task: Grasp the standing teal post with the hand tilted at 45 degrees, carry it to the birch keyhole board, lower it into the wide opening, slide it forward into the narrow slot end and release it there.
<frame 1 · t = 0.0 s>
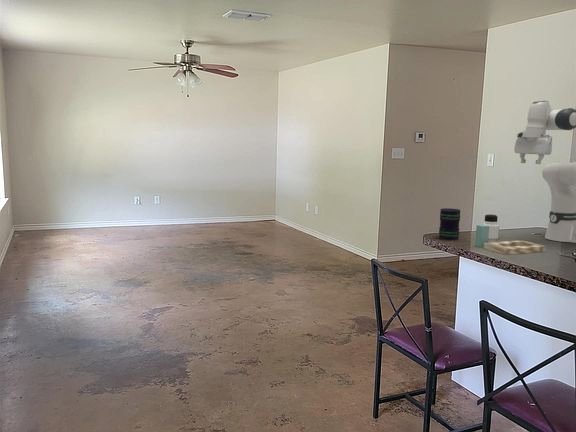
hand: (530, 163, 239), 39 cm above the worktop, tool pointing down, fingers open, 8 cm apart
medicine bottle: (489, 238, 256), on the worktop
storage jar: (448, 238, 253), on the worktop
post: (481, 246, 236), on the worktop
keyhole board: (513, 249, 228), on the worktop
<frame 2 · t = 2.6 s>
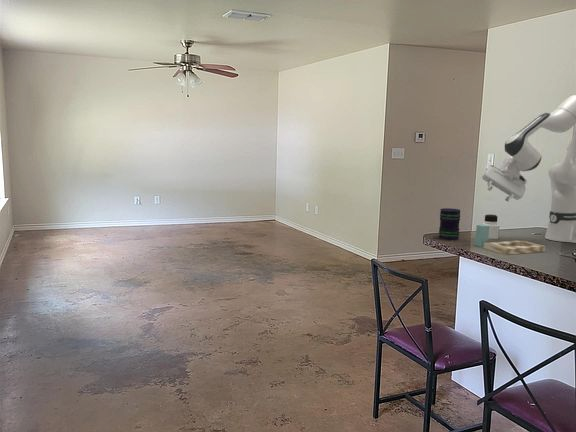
hand: (498, 194, 232), 25 cm above the worktop, tool tilted 50°, fingers open, 8 cm apart
nothing on the worktop moved.
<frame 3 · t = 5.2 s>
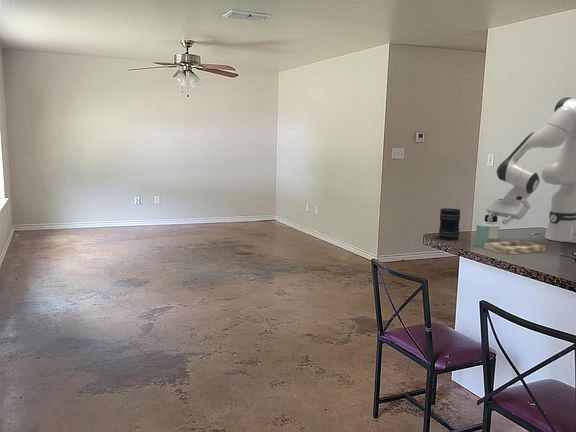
hand: (496, 222, 235), 12 cm above the worktop, tool tilted 45°, fingers open, 8 cm apart
nothing on the worktop moved.
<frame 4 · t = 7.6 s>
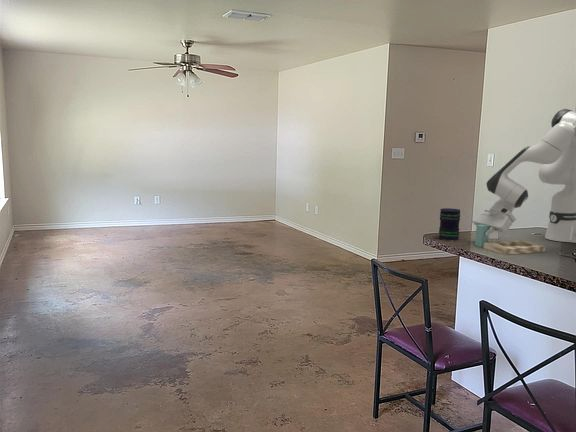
hand: (481, 234, 234), 6 cm above the worktop, tool tilted 45°, fingers closed on post, 4 cm apart
post: (481, 246, 236), on the worktop, touching gripper
everything else where it was.
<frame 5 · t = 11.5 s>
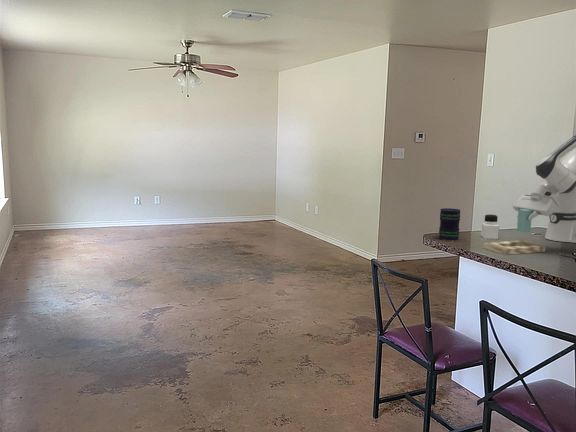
hand: (523, 218, 226), 14 cm above the worktop, tool tilted 45°, fingers closed on post, 4 cm apart
post: (523, 231, 227), point 9 cm above the worktop, touching gripper
everything else where it was.
when the fingers open (7 cm above the worktop, at t = 15.6 s): post drops 1 cm, resting in keyhole board.
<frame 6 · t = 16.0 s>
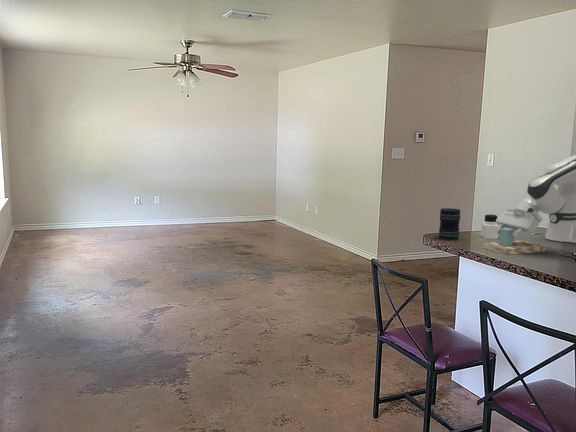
hand: (505, 234, 225), 7 cm above the worktop, tool tilted 45°, fingers open, 8 cm apart
post: (505, 250, 227), resting in keyhole board
everything else where it was.
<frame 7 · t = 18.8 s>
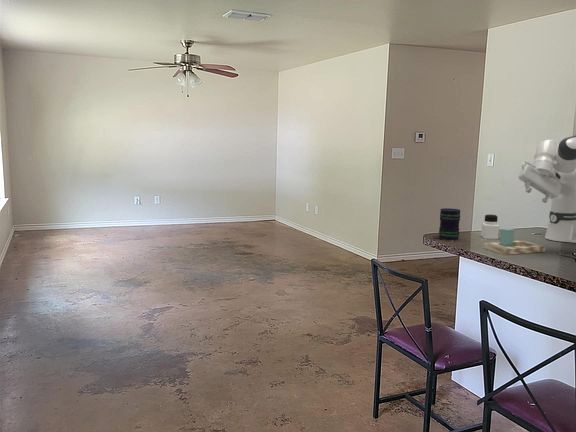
hand: (536, 196, 217), 25 cm above the worktop, tool tilted 40°, fingers open, 8 cm apart
nothing on the worktop moved.
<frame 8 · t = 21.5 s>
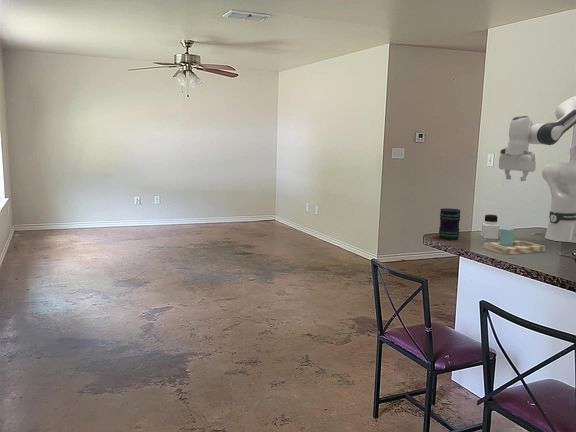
hand: (515, 180, 236), 31 cm above the worktop, tool pointing down, fingers open, 8 cm apart
nothing on the worktop moved.
at the end: post 0.5 cm from the target spot on the keyhole board, point 0.0 cm above the keyhole board's base; post tilted 0°; the gripper is holding nothing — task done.
